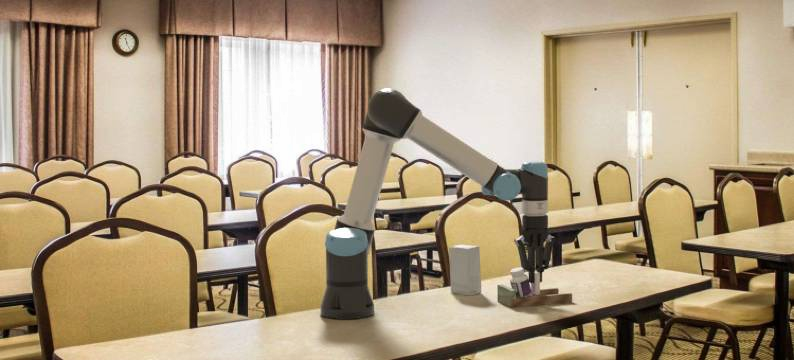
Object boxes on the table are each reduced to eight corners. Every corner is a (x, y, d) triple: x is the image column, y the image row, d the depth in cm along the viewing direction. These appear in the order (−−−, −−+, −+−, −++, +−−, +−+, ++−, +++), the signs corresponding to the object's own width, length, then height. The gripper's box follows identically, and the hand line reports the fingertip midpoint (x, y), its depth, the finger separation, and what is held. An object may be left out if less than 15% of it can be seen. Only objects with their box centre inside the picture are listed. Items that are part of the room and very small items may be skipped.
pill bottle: (533, 295, 268) (526, 264, 266) (533, 301, 262) (525, 270, 261) (515, 299, 269) (508, 268, 267) (514, 305, 264) (507, 273, 262)
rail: (511, 307, 259) (511, 290, 259) (497, 301, 268) (497, 284, 267) (572, 301, 266) (572, 285, 266) (556, 296, 274) (556, 279, 274)
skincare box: (481, 293, 279) (481, 246, 278) (468, 296, 275) (468, 248, 274) (461, 289, 285) (461, 243, 284) (448, 292, 281) (448, 245, 280)
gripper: (521, 217, 259) (521, 298, 261) (561, 214, 263) (561, 294, 265) (509, 214, 266) (509, 293, 268) (548, 211, 270) (548, 289, 272)
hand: (535, 293), depth 267 cm, fingers closed
